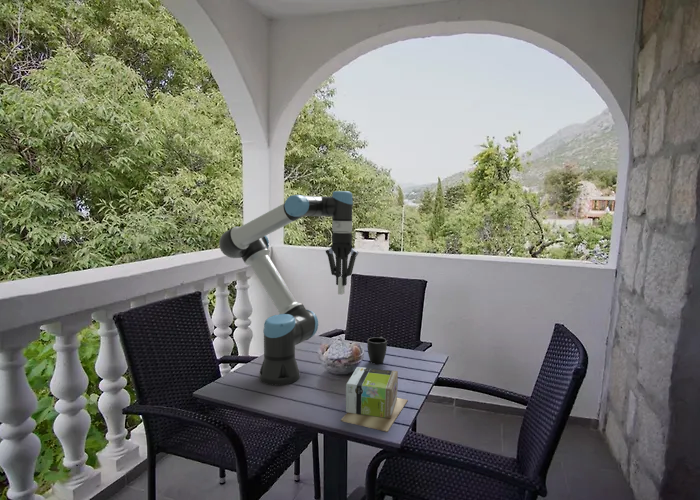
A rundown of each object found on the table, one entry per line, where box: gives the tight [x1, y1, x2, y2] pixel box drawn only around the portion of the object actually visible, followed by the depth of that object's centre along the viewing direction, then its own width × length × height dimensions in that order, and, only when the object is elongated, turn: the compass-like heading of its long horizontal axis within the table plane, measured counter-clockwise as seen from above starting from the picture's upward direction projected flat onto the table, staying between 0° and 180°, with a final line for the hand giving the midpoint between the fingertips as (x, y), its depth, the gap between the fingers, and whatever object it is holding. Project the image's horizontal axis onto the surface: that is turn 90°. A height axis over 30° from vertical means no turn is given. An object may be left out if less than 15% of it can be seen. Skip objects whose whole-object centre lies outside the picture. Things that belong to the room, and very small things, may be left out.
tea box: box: [345, 366, 399, 418], centre depth 137 cm, size 15×10×15 cm
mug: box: [366, 336, 388, 365], centre depth 180 cm, size 8×12×10 cm
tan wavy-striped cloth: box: [340, 397, 408, 433], centre depth 135 cm, size 15×22×1 cm
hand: (341, 293), depth 160 cm, fingers closed
